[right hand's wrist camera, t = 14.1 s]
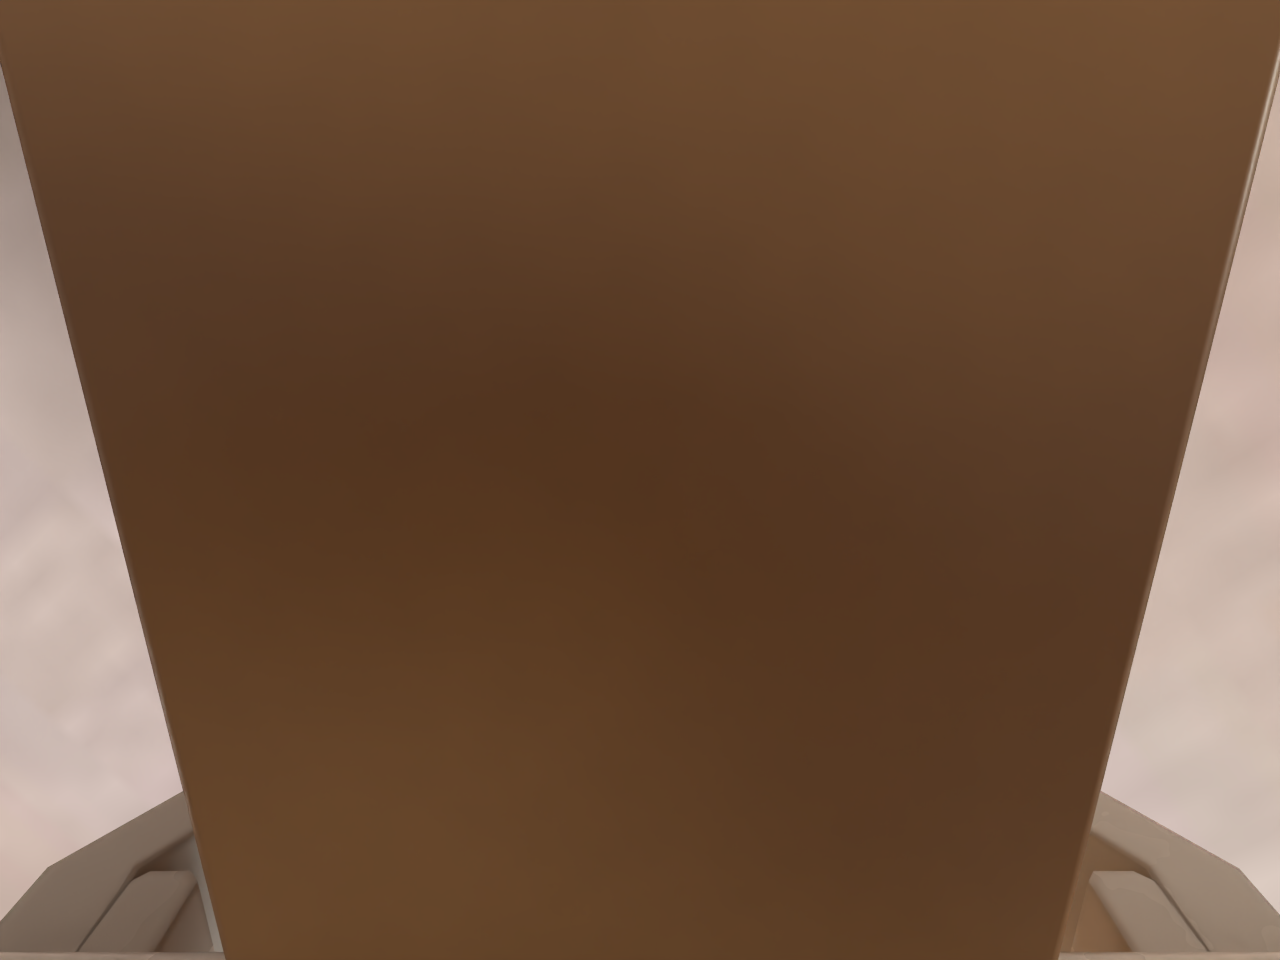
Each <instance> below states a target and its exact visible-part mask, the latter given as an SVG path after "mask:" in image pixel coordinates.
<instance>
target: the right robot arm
mask: <svg viewBox="0 0 1280 960" xmlns="http://www.w3.org/2000/svg"><path fill="white" fill-rule="evenodd" d="M0 960H226V959H225V955H224V951H223V947H222V943H221V939H220V935H219V931H218V927H217V923H216V919H215V916H214V912H213V908H212V904H211V900H210V896H209V892H208V888H207V884H206V880H205V876H204V872H203V868H202V864H201V860H200V856H199V852H198V848H197V844H196V840H195V836H194V832H193V828H192V824H191V820H190V816H189V812H188V808H187V804H186V800H185V796H184V792H181V793H179V794H177V795H175V796H174V797H172V798H170V799H168V800H167V801H165V802H163V803H161V804H159V805H158V806H156V807H154V808H152V809H151V810H149V811H147V812H145V813H144V814H142V815H140V816H138V817H136V818H135V819H133V820H131V821H129V822H128V823H126V824H124V825H122V826H120V827H119V828H117V829H115V830H113V831H112V832H110V833H108V834H106V835H104V836H103V837H101V838H99V839H97V840H96V841H94V842H92V843H90V844H88V845H87V846H85V847H83V848H81V849H80V850H78V851H76V852H74V853H72V854H71V855H69V856H67V857H65V858H64V859H62V860H60V861H58V862H57V863H55V864H53V865H51V866H49V867H48V868H47V869H46V870H45V871H44V872H43V873H42V875H41V876H40V877H39V878H38V879H37V880H36V881H35V883H34V884H33V885H32V886H31V887H30V888H29V889H28V891H27V892H26V893H25V894H24V895H23V896H22V897H21V898H20V900H19V901H18V902H17V903H16V904H15V905H14V906H13V908H12V909H11V910H10V911H9V912H8V913H7V914H6V916H5V917H4V918H3V919H2V920H1V921H0ZM1058 960H1280V915H1279V914H1278V912H1277V911H1276V910H1275V909H1274V908H1273V907H1272V906H1271V904H1270V903H1269V902H1268V901H1267V900H1266V899H1265V898H1264V896H1263V895H1262V894H1261V893H1260V892H1259V891H1258V890H1257V888H1256V887H1255V886H1254V885H1253V884H1252V883H1251V882H1250V880H1249V879H1248V878H1247V877H1246V876H1245V875H1244V874H1243V873H1242V871H1241V870H1240V869H1239V868H1237V867H1235V866H1233V865H1232V864H1230V863H1228V862H1226V861H1224V860H1223V859H1221V858H1219V857H1217V856H1216V855H1214V854H1212V853H1210V852H1208V851H1207V850H1205V849H1203V848H1201V847H1200V846H1198V845H1196V844H1194V843H1192V842H1191V841H1189V840H1187V839H1185V838H1184V837H1182V836H1180V835H1178V834H1176V833H1175V832H1173V831H1171V830H1169V829H1168V828H1166V827H1164V826H1162V825H1160V824H1159V823H1157V822H1155V821H1153V820H1152V819H1150V818H1148V817H1146V816H1144V815H1143V814H1141V813H1139V812H1137V811H1136V810H1134V809H1132V808H1130V807H1128V806H1127V805H1125V804H1123V803H1121V802H1120V801H1118V800H1116V799H1114V798H1112V797H1111V796H1109V795H1107V794H1105V793H1104V792H1102V791H1100V794H1099V798H1098V802H1097V806H1096V810H1095V814H1094V818H1093V822H1092V826H1091V830H1090V834H1089V838H1088V842H1087V846H1086V850H1085V854H1084V858H1083V862H1082V866H1081V870H1080V874H1079V878H1078V882H1077V886H1076V890H1075V894H1074V898H1073V902H1072V906H1071V910H1070V914H1069V918H1068V922H1067V926H1066V930H1065V934H1064V938H1063V942H1062V946H1061V950H1060V954H1059V958H1058Z"/></svg>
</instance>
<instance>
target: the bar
mask: <svg viewBox="0 0 1280 960" xmlns="http://www.w3.org/2000/svg"><path fill="white" fill-rule="evenodd" d="M0 63H1V67H2V71H3V75H4V79H5V83H6V87H7V91H8V95H9V99H10V103H11V107H12V111H13V115H14V119H15V123H16V127H17V131H18V134H19V138H20V142H21V146H22V150H23V154H24V158H25V162H26V166H27V170H28V174H29V178H30V182H31V186H32V190H33V194H34V198H35V202H36V206H37V210H38V214H39V218H40V222H41V226H42V230H43V234H44V238H45V242H46V246H47V250H48V254H49V258H50V262H51V266H52V270H53V274H54V278H55V282H56V286H57V290H58V294H59V298H60V302H61V306H62V310H63V314H64V318H65V322H66V326H67V330H68V334H69V338H70V342H71V346H72V350H73V354H74V358H75V362H76V366H77V370H78V374H79V378H80V382H81V386H82V390H83V394H84V397H85V401H86V405H87V409H88V413H89V417H90V421H91V425H92V429H93V433H94V437H95V441H96V445H97V449H98V453H99V457H100V461H101V465H102V469H103V473H104V477H105V481H106V485H107V489H108V493H109V497H110V501H111V505H112V509H113V513H114V517H115V521H116V525H117V529H118V533H119V537H120V541H121V545H122V549H123V553H124V557H125V561H126V565H127V569H128V573H129V577H130V581H131V585H132V589H133V593H134V597H135V601H136V605H137V609H138V613H139V617H140V621H141V625H142V629H143V633H144V637H145V641H146V645H147V649H148V653H149V656H150V660H151V664H152V668H153V672H154V676H155V680H156V684H157V688H158V692H159V696H160V700H161V704H162V708H163V712H164V716H165V720H166V724H167V728H168V732H169V736H170V740H171V744H172V748H173V752H174V756H175V760H176V764H177V768H178V772H179V776H180V780H181V784H182V788H183V792H184V796H185V800H186V804H187V808H188V812H189V816H190V820H191V824H192V828H193V832H194V836H195V840H196V844H197V848H198V852H199V856H200V860H201V864H202V868H203V872H204V876H205V880H206V884H207V888H208V892H209V896H210V900H211V904H212V908H213V912H214V916H215V919H216V923H217V927H218V931H219V935H220V939H221V943H222V947H223V951H224V955H225V959H226V960H1058V958H1059V954H1060V950H1061V946H1062V942H1063V938H1064V934H1065V930H1066V926H1067V922H1068V918H1069V914H1070V910H1071V906H1072V902H1073V898H1074V894H1075V890H1076V886H1077V882H1078V878H1079V874H1080V870H1081V866H1082V862H1083V858H1084V854H1085V850H1086V846H1087V842H1088V838H1089V834H1090V830H1091V826H1092V822H1093V818H1094V814H1095V810H1096V806H1097V802H1098V798H1099V794H1100V790H1101V786H1102V782H1103V778H1104V774H1105V770H1106V766H1107V762H1108V758H1109V754H1110V750H1111V746H1112V742H1113V738H1114V734H1115V730H1116V726H1117V722H1118V718H1119V714H1120V710H1121V706H1122V702H1123V698H1124V694H1125V690H1126V686H1127V682H1128V678H1129V674H1130V670H1131V666H1132V662H1133V658H1134V654H1135V650H1136V646H1137V642H1138V638H1139V634H1140V630H1141V626H1142V622H1143V618H1144V614H1145V610H1146V606H1147V602H1148V598H1149V594H1150V590H1151V586H1152V582H1153V578H1154V574H1155V570H1156V566H1157V562H1158V558H1159V554H1160V550H1161V546H1162V542H1163V538H1164V534H1165V530H1166V526H1167V522H1168V518H1169V514H1170V510H1171V506H1172V502H1173V498H1174V494H1175V490H1176V486H1177V482H1178V478H1179V474H1180V470H1181V466H1182V462H1183V458H1184V454H1185V450H1186V446H1187V442H1188V438H1189V434H1190V430H1191V426H1192V422H1193V418H1194V414H1195V410H1196V406H1197V402H1198V398H1199V394H1200V390H1201V386H1202V382H1203V378H1204V374H1205V370H1206V366H1207V362H1208V358H1209V354H1210V350H1211V346H1212V342H1213V338H1214V334H1215V330H1216V326H1217V322H1218V318H1219V314H1220V310H1221V306H1222V302H1223V298H1224V294H1225V290H1226V286H1227V282H1228V278H1229V274H1230V270H1231V266H1232V262H1233V258H1234V254H1235V250H1236V246H1237V242H1238V238H1239V234H1240V230H1241V226H1242V222H1243V218H1244V214H1245V210H1246V206H1247V202H1248V198H1249V194H1250V190H1251V186H1252V182H1253V178H1254V174H1255V170H1256V166H1257V162H1258V158H1259V154H1260V150H1261V146H1262V142H1263V138H1264V134H1265V130H1266V126H1267V122H1268V118H1269V114H1270V110H1271V106H1272V102H1273V98H1274V94H1275V90H1276V86H1277V82H1278V78H1279V74H1280V0H0Z"/></svg>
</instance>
